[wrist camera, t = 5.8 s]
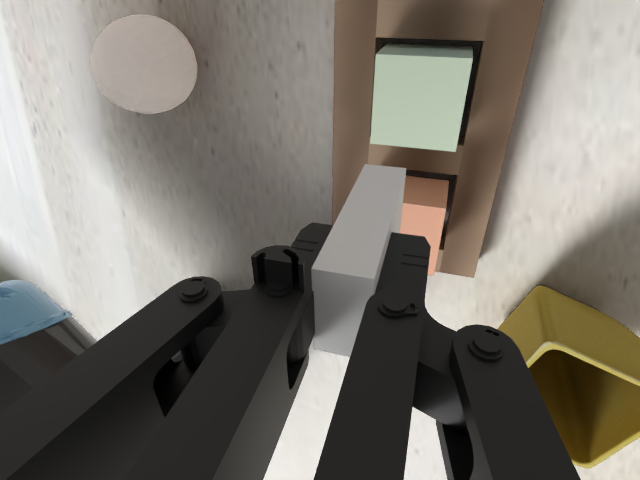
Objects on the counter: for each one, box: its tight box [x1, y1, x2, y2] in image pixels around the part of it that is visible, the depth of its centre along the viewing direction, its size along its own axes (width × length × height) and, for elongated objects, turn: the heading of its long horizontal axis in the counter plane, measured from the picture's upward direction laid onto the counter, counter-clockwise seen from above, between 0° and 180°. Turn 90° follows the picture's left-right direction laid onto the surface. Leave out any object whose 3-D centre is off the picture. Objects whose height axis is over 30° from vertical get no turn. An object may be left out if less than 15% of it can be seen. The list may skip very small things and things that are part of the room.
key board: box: [332, 0, 544, 278], centre depth 26 cm, size 11×26×2 cm, turn 0°
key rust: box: [400, 176, 449, 275], centre depth 28 cm, size 5×5×4 cm
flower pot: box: [497, 286, 640, 469], centre depth 29 cm, size 9×9×9 cm
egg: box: [90, 14, 197, 114], centre depth 27 cm, size 6×6×8 cm
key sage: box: [370, 43, 473, 152], centre depth 25 cm, size 5×5×4 cm
